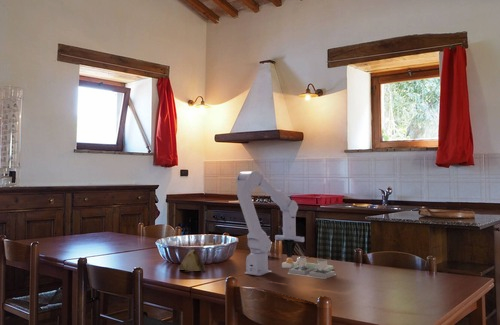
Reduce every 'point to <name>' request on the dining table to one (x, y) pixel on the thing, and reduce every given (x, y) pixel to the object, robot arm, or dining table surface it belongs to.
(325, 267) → the cylinder
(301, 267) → the cylinder
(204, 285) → the dining table surface
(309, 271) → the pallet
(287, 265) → the button housing
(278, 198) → the robot arm
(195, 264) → the rock
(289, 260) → the button cap
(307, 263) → the tray
